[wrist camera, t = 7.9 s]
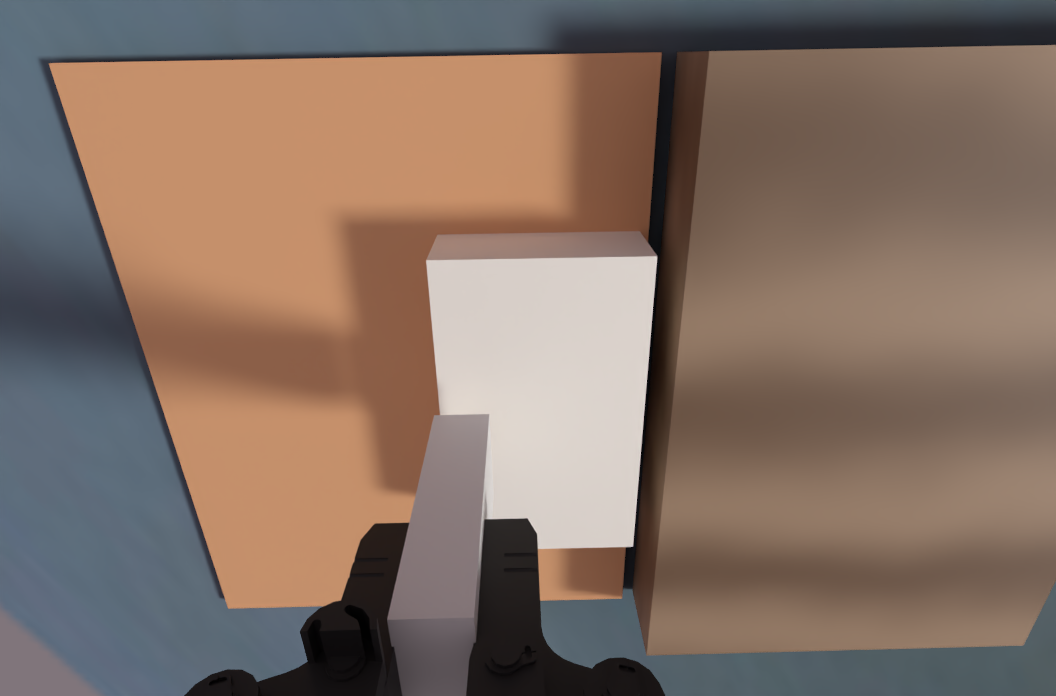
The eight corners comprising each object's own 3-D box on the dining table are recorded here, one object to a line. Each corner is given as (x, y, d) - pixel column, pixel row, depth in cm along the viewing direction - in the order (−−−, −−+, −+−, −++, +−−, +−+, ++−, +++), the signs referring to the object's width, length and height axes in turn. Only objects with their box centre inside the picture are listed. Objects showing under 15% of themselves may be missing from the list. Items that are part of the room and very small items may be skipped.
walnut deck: (968, 582, 25) (1023, 645, 22) (632, 590, 25) (646, 655, 22) (1193, 42, 16) (1327, 40, 14) (677, 52, 16) (709, 51, 13)
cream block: (621, 497, 22) (632, 546, 20) (458, 500, 22) (452, 550, 20) (639, 231, 18) (657, 256, 16) (437, 234, 18) (425, 260, 16)
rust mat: (620, 590, 25) (621, 598, 25) (232, 600, 25) (228, 608, 24) (658, 52, 16) (662, 51, 16) (58, 62, 16) (48, 63, 16)
